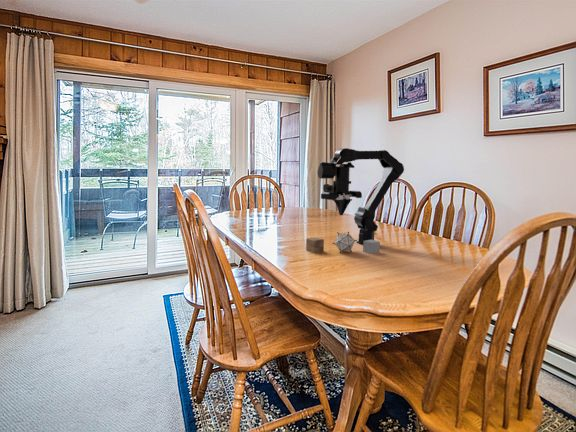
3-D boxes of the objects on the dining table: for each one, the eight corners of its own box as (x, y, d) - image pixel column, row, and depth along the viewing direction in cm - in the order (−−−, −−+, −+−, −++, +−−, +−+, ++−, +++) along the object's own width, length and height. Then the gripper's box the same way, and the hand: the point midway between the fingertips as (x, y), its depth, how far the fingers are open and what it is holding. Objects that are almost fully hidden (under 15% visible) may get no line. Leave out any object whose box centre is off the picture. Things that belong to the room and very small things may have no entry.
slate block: (370, 250, 145) (371, 239, 144) (379, 252, 141) (379, 241, 140) (363, 251, 142) (363, 240, 142) (371, 254, 139) (372, 242, 138)
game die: (347, 261, 141) (356, 245, 134) (328, 253, 142) (335, 236, 135) (352, 246, 147) (361, 230, 140) (333, 238, 148) (341, 222, 141)
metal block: (315, 248, 146) (316, 237, 145) (323, 251, 142) (323, 239, 141) (306, 250, 143) (306, 238, 143) (313, 253, 139) (314, 240, 139)
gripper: (345, 177, 161) (344, 211, 163) (313, 178, 151) (312, 214, 153) (363, 178, 152) (361, 214, 154) (330, 179, 142) (329, 217, 144)
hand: (341, 215), depth 152 cm, fingers closed
